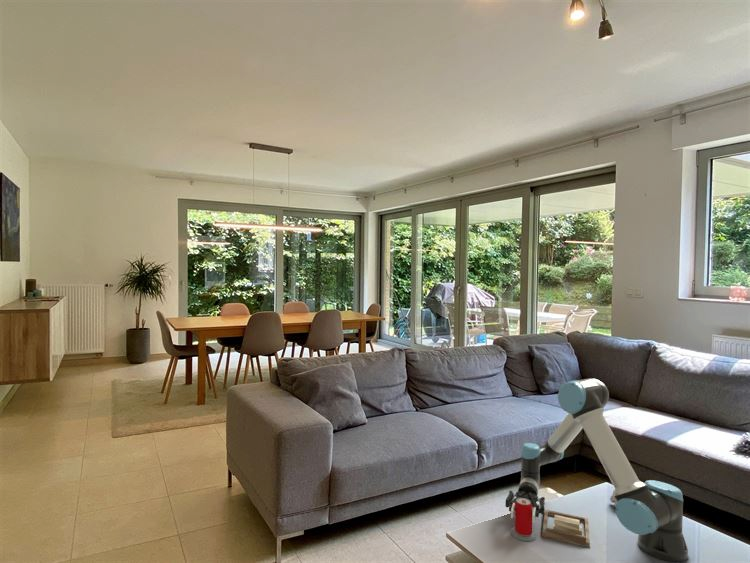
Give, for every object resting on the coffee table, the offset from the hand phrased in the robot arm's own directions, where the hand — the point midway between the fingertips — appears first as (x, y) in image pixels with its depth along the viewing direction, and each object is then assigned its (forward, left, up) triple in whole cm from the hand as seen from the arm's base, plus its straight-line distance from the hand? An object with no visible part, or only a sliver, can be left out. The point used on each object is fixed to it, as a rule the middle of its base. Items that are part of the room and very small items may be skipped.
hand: (522, 516), depth 165 cm
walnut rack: (+7, -21, -9) cm, 24 cm away
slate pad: (+4, -2, -9) cm, 10 cm away
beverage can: (+4, -2, -9) cm, 10 cm away
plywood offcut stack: (+3, -19, -9) cm, 21 cm away
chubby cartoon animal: (+19, -53, -9) cm, 57 cm away
